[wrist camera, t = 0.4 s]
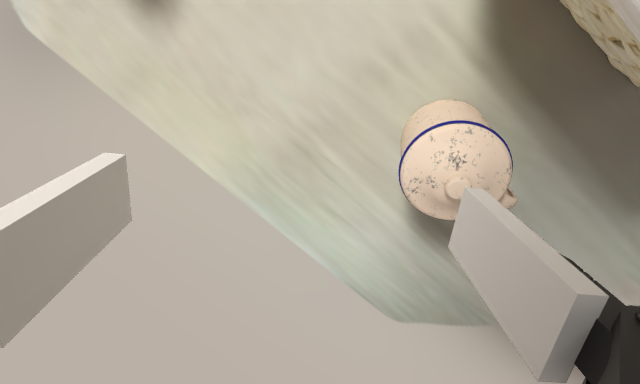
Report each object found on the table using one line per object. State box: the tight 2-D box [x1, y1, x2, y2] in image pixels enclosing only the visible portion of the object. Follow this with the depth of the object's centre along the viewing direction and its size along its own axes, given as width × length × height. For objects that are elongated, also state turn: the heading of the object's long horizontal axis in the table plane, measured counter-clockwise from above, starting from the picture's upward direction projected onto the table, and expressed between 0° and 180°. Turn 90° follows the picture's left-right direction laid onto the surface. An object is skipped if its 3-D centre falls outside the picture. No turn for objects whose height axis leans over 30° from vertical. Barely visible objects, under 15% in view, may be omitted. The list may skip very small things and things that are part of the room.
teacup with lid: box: [399, 100, 517, 220], centre depth 33 cm, size 12×9×12 cm
